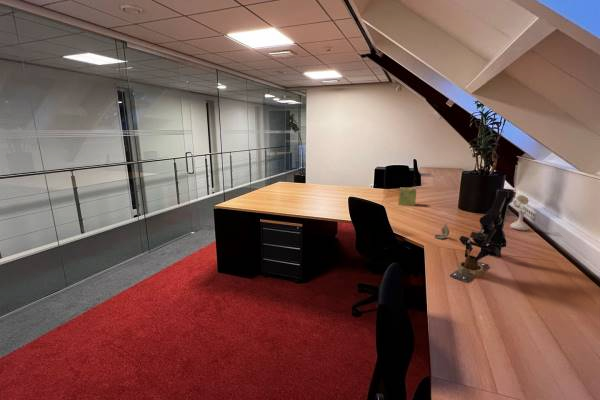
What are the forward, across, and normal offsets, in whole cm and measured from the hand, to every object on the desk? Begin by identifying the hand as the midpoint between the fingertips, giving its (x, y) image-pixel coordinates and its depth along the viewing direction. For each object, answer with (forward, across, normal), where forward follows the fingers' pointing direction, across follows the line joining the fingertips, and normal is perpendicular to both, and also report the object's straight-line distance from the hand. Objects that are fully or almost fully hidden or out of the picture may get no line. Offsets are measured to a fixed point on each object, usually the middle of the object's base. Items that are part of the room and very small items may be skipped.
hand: (470, 258), depth 153 cm
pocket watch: (-17, -39, +28) cm, 51 cm away
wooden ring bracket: (+4, 0, +6) cm, 7 cm away
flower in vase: (-62, -23, +74) cm, 99 cm away
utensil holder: (+4, 0, +6) cm, 7 cm away
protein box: (-52, -116, +65) cm, 143 cm away
